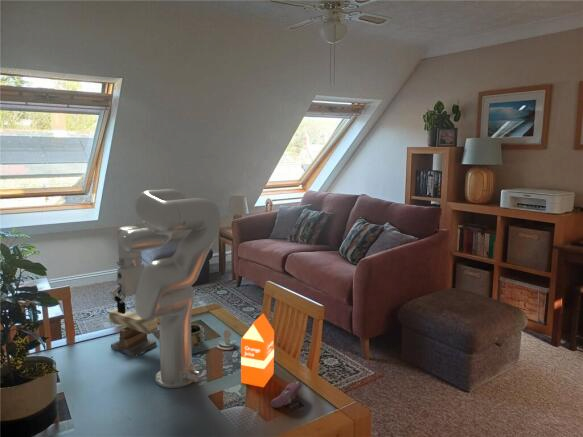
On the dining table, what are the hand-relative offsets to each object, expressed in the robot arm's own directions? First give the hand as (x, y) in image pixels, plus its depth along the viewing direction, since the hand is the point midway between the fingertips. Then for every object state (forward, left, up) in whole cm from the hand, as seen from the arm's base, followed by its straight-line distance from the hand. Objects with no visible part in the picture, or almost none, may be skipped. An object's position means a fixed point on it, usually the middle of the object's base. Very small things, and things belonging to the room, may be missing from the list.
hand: (132, 308), depth 155 cm
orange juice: (-50, -5, -15) cm, 52 cm away
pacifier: (-28, -17, -15) cm, 36 cm away
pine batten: (0, 0, -7) cm, 7 cm away
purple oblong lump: (-64, +1, -15) cm, 66 cm away
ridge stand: (0, 0, -15) cm, 15 cm away
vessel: (-16, -12, -15) cm, 25 cm away
